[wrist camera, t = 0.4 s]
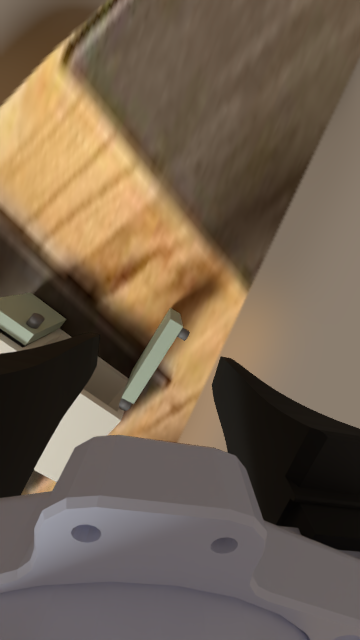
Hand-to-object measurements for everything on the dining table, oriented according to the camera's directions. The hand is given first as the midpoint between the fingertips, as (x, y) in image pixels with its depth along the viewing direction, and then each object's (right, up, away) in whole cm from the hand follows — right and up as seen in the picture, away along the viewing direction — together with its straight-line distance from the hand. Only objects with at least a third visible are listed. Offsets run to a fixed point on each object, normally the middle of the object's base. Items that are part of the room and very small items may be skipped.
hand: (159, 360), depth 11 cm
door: (-1, -1, +10) cm, 10 cm away
